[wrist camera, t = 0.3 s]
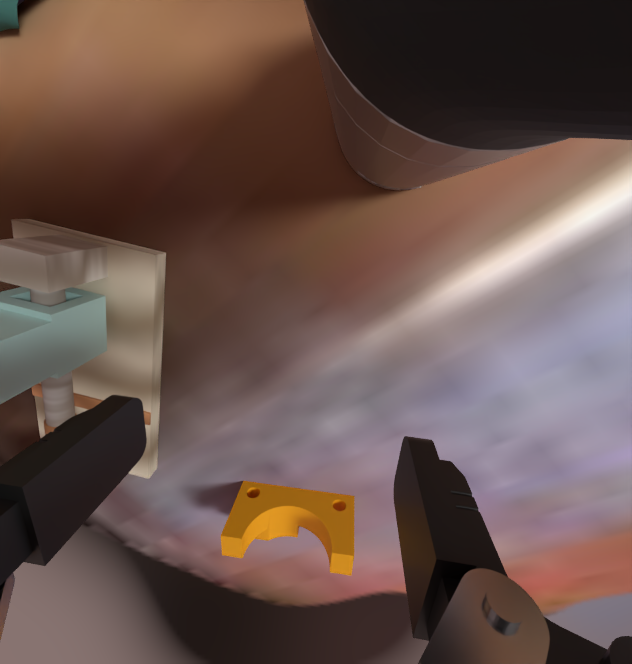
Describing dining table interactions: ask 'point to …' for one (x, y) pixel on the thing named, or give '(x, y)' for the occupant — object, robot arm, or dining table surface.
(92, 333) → the sleeve
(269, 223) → the dining table surface
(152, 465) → the rod rig
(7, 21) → the cutlery set
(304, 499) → the pipe clamp
